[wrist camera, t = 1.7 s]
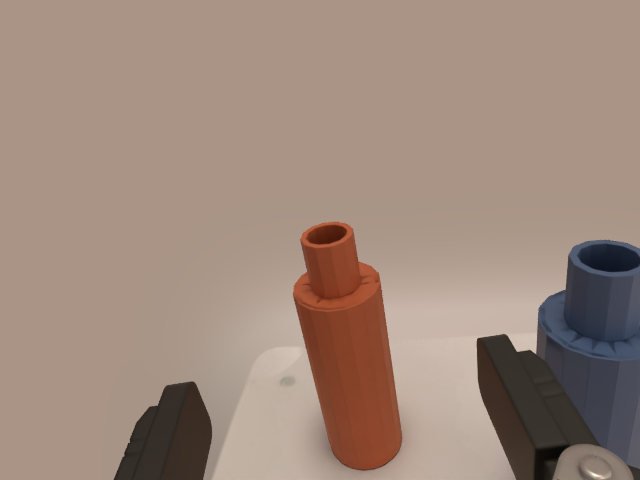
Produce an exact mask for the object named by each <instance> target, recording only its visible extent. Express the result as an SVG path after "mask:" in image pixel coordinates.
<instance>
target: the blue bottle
mask: <svg viewBox="0 0 640 480" xmlns="http://www.w3.org/2000/svg"><path fill="white" fill-rule="evenodd" d="M536 355H537V356H539V357H540V358H541V359H543V360H544V361H545V362H547V364H548V365H549V367H550V368H551V370H552V372H553V373H554V375H555V376H556V378H557V381H559V382H560V384H561V386H562V387H563V389H564V390H565V394H567V395H568V396H569V398H570V400H571V401H572V403H573V404H574V406H575V407H576V409H577V410H578V412H579V414H580V415H581V417H582V418H583V420H584V421H585V423H586V424H587V426H588V428H589V429H590V431H591V432H592V434H593V435H594V437H595V438H596V440H597V441H598V443H599V444H600V445H601V447H602V448H604V449H607V450H609V451H610V452H612V453H614V454H615V455H617V456H618V457H619V458H620V459H622V460H623V461H624V462H625V464H627V465H630V466H632V467H635V468H639V469H640V249H639V248H637V247H634V246H632V245H630V244H628V243H623V242H617V241H610V240H596V241H587V242H584V243H581V244H579V245H576V246H574V247H573V248H572V250H571V252H570V254H569V256H568V269H567V283H566V290H563V291H561V292H559V293H556V294H554V295H551V296H549V297H548V298H547V299H546V300H545V302H543V303H542V305H541V306H540V307H539V312H538V330H537V351H536Z"/></svg>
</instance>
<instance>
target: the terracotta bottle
mask: <svg viewBox="0 0 640 480" xmlns="http://www.w3.org/2000/svg"><path fill="white" fill-rule="evenodd" d="M300 240H301V245H302V250H303V254H304V259H305V263H306V268H307V272H306V273H305V274H304V275H302V276H301V277H300V278H299V280H298V281H297V282H296V283H295V285H294V291H293V296H294V301H295V305H296V308H297V313H298V317H299V321H300V325H301V329H302V333H303V337H304V341H305V345H306V349H307V353H308V357H309V361H310V366H311V370H312V374H313V378H314V382H315V386H316V390H317V394H318V398H319V402H320V406H321V410H322V414H323V418H324V422H325V426H326V430H327V434H328V438H329V442H330V444H331V448H332V450H333V453H334V454H335V456H336V457H337V458H338V459H339V460H340V461H341V462H342V463H344V464H345V465H347V466H349V467H352V468H355V469H362V470H365V469H374V468H377V467H380V466H382V465H384V464H386V463H387V462H389V461H390V460H391V459H392V458H393V457H394V456H395V455H396V454H397V452H398V450H399V448H400V446H401V442H402V433H401V425H400V418H399V411H398V404H397V397H396V390H395V383H394V376H393V369H392V361H391V354H390V347H389V340H388V333H387V326H386V319H385V312H384V305H383V298H382V290H381V283H380V277H379V273H378V272H376V270H375V269H373V268H372V267H371V266H369V265H367V264H364V263H361V262H358V257H357V252H356V245H355V239H354V233H353V229H352V228H351V227H350V226H349V225H348V224H345V223H340V222H329V223H322V224H319V225H316V226H313V227H311V228H309V229H308V230H307V231H305V232H304V233H303V234H302V237H301V239H300Z"/></svg>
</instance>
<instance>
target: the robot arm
mask: <svg viewBox="0 0 640 480" xmlns="http://www.w3.org/2000/svg"><path fill="white" fill-rule="evenodd" d="M477 365H478V383H479V389H480V393H481V396H482V399H483V402H484V405H485V407H486V409H487V412H488V414H489V416H490V419H491V421H492V423H493V426H494V428H495V430H496V433H497V435H498V437H499V440H500V442H501V444H502V447H503V449H504V451H505V454H506V456H507V458H508V461H509V463H510V465H511V468H512V470H513V473H514V475H515V477H516V480H640V469H639V468H635V467H632V466H630V465H627V464H625V462H624V461H623V460H622V459H620V458H619V457H618V456H617V455H615V454H614V453H612V452H610V451H609V450H607V449H604V448H602V447H601V445H600V444H599V443H598V441H597V440H596V438H595V437H594V435H593V434H592V432H591V431H590V429H589V428H588V426H587V424H586V423H585V421H584V420H583V418H582V417H581V415H580V414H579V412H578V410H577V409H576V407H575V406H574V404H573V403H572V401H571V400H570V398H569V396H568V395H567V394H565V390H564V389H563V387H562V386H561V384H560V382H559V381H557V378H556V376H555V375H554V373H553V372H552V370H551V368H550V367H549V365H548V364H547V362H545V361H544V360H543V359H541V358H540V357H539V356H537V355H536V354H535V353H533V352H532V351H531V350H528V351H521V352H517V351H516V350H515V348H514V346H513V344H512V343H511V341H510V339H509V338H508V336H507V335H506V334H502V335H496V336H489V337H483V338H478V339H477ZM211 439H212V426H211V420H210V417H209V415H208V412H207V410H206V407H205V405H204V402H203V400H202V398H201V395H200V393H199V390H198V388H197V385H196V384H195V383H194V382H185V383H179V384H172V385H167V386H166V387H165V388H164V390H163V393H162V396H161V399H160V401H159V404H158V406H152V407H149V408H148V410H147V411H146V412H145V413H144V414H143V416H142V417H141V418H140V419H139V420H138V422H137V423H136V425H135V428H134V430H133V433H132V436H131V438H130V443H128V445H127V448H126V451H125V453H124V454H125V456H124V457H123V458H122V460H121V463H120V466H119V468H118V470H117V473H116V475H115V478H114V480H203V477H204V473H205V468H206V463H207V459H208V454H209V449H210V444H211Z"/></svg>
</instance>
